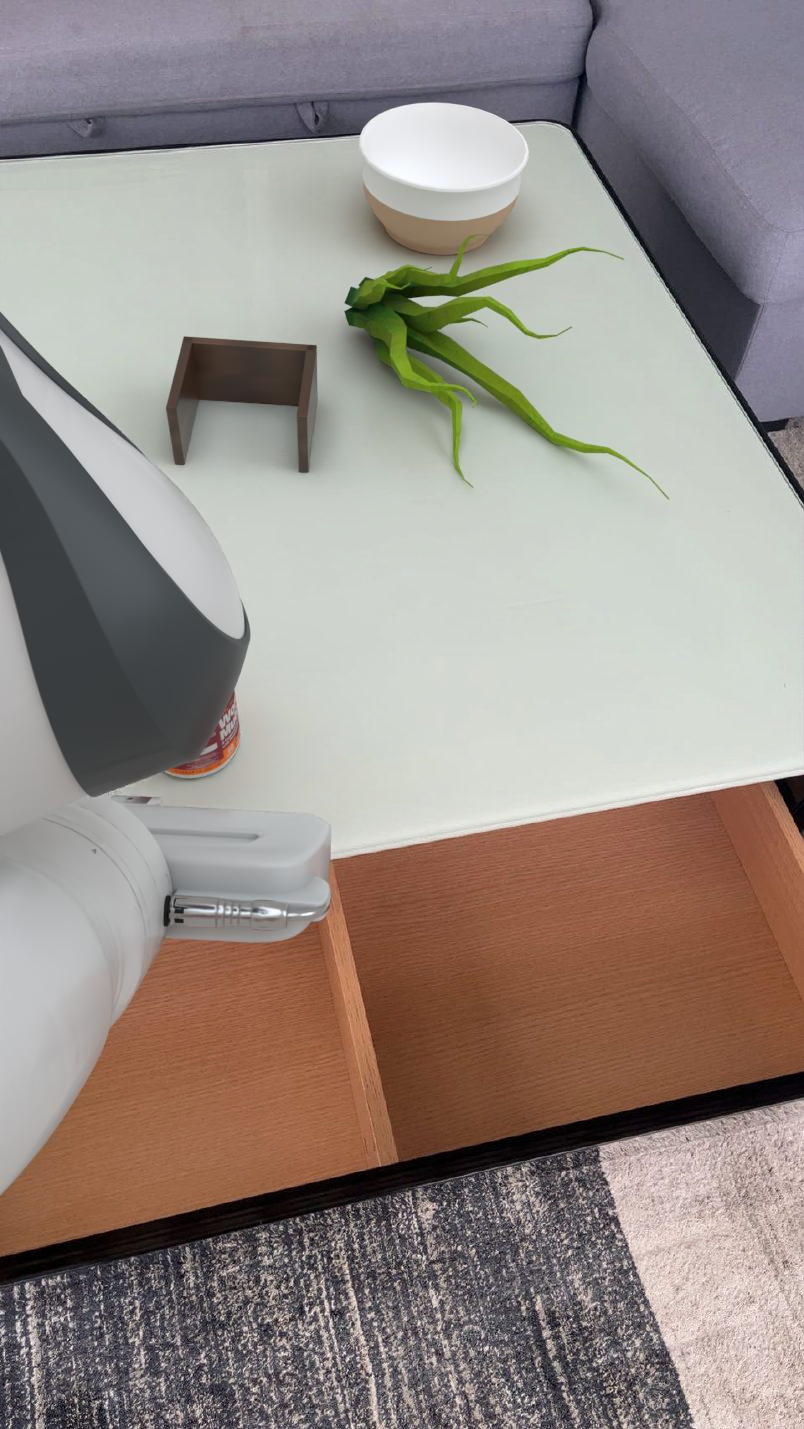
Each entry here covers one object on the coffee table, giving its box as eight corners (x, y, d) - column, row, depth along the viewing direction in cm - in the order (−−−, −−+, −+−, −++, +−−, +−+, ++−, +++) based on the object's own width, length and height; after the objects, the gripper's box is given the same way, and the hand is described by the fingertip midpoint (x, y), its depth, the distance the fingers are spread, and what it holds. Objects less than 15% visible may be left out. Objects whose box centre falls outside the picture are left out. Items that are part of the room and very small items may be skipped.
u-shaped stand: (174, 464, 84) (165, 408, 79) (191, 392, 89) (183, 336, 84) (308, 472, 84) (307, 417, 80) (317, 401, 89) (316, 345, 85)
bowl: (497, 285, 100) (508, 204, 94) (335, 250, 102) (335, 168, 96) (532, 199, 109) (545, 120, 103) (383, 169, 111) (386, 89, 105)
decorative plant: (449, 562, 80) (469, 403, 67) (337, 326, 95) (338, 162, 83) (663, 517, 83) (719, 359, 71) (522, 297, 99) (548, 137, 87)
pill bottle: (247, 773, 68) (233, 664, 59) (149, 789, 67) (120, 681, 58) (234, 696, 71) (219, 583, 62) (141, 710, 70) (111, 597, 61)
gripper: (331, 842, 39) (347, 761, 52) (-235, 811, 38) (-71, 737, 52) (322, 1003, 40) (340, 883, 53) (-228, 975, 39) (-68, 861, 53)
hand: (134, 811), depth 53 cm, fingers closed
